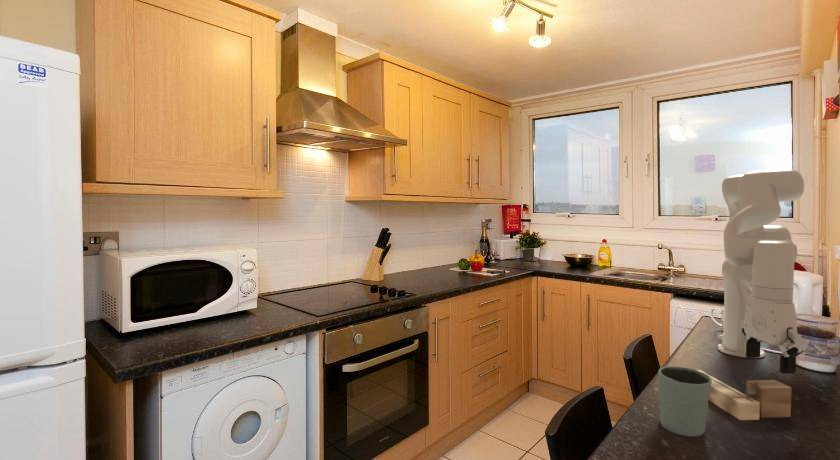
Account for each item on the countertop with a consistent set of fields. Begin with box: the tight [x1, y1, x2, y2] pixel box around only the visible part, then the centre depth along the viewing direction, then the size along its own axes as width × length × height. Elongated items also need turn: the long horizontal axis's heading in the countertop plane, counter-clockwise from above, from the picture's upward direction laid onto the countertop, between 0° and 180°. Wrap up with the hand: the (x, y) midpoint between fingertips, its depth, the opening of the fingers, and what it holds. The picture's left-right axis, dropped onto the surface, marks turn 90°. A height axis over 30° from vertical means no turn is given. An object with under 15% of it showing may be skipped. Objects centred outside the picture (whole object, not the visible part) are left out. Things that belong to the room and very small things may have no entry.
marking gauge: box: [745, 379, 792, 419], centre depth 104 cm, size 4×10×7 cm, turn 92°
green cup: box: [658, 365, 712, 437], centre depth 97 cm, size 10×10×12 cm
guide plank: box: [696, 369, 760, 421], centre depth 110 cm, size 20×4×4 cm, turn 2°
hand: (769, 364), depth 103 cm, fingers open, 9 cm apart
